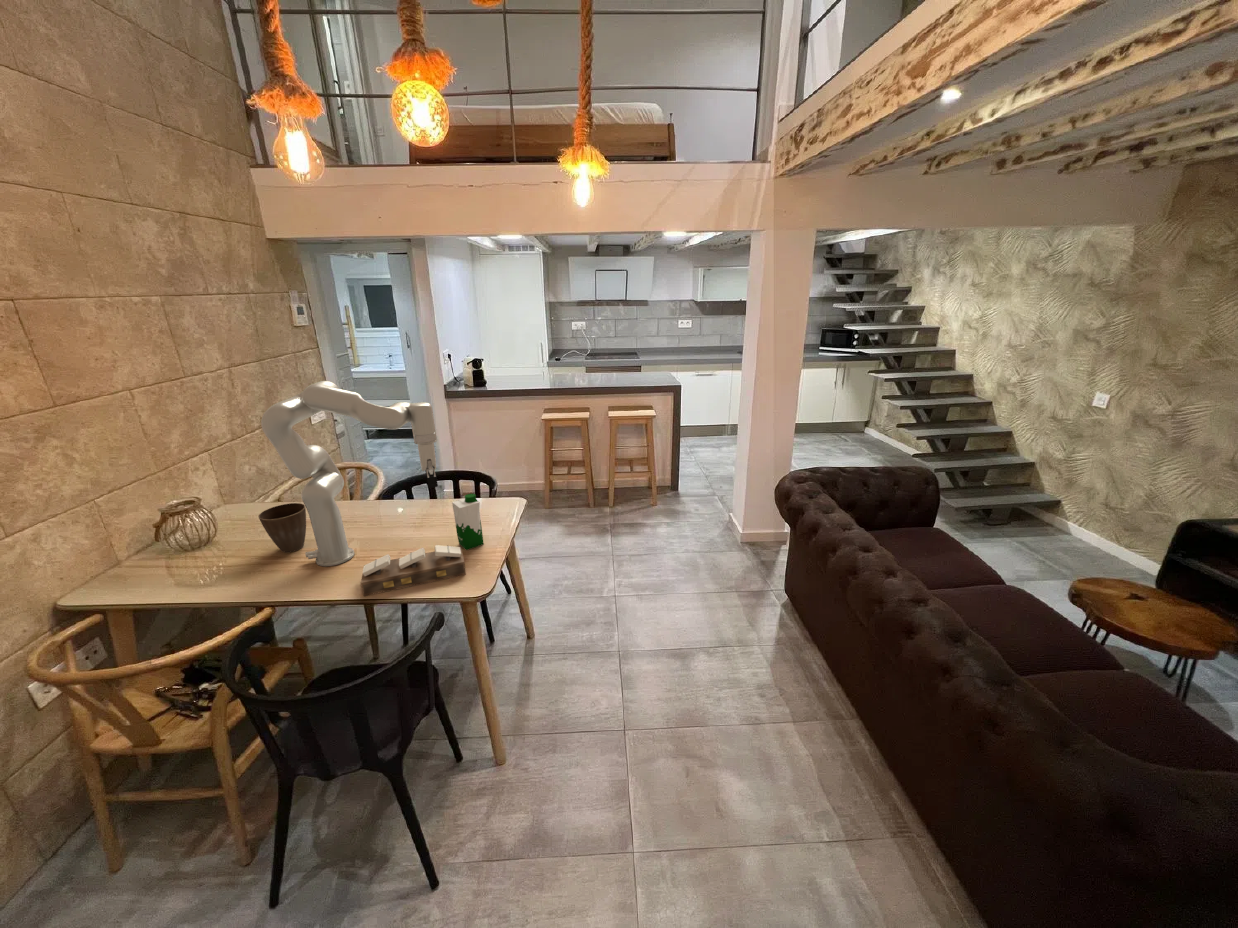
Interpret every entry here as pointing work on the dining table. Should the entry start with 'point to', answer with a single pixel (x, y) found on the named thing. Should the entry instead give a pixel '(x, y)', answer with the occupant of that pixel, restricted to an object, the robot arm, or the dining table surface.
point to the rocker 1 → (376, 565)
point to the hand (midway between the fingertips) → (432, 482)
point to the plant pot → (286, 525)
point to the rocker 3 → (447, 551)
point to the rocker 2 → (411, 558)
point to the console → (413, 573)
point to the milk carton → (468, 522)
